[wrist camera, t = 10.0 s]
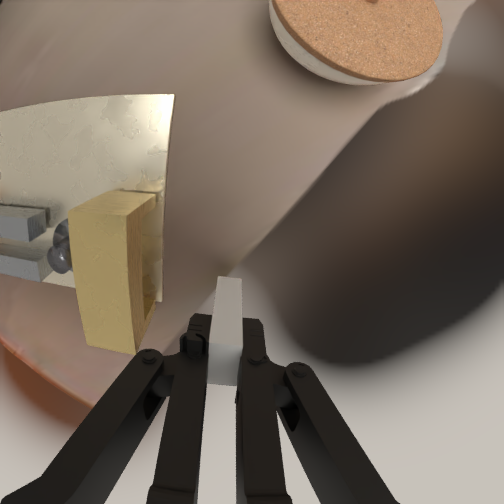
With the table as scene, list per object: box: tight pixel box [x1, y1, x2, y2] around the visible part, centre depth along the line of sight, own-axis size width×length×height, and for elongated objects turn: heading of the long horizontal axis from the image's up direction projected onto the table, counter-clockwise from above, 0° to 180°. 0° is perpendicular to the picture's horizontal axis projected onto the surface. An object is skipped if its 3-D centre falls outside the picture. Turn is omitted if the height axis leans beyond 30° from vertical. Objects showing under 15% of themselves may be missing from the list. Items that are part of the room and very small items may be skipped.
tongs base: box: [0, 94, 175, 302], centre depth 19 cm, size 26×17×4 cm, turn 82°
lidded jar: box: [269, 0, 443, 85], centre depth 13 cm, size 11×11×9 cm
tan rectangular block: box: [68, 191, 156, 355], centre depth 19 cm, size 4×10×6 cm, turn 172°
